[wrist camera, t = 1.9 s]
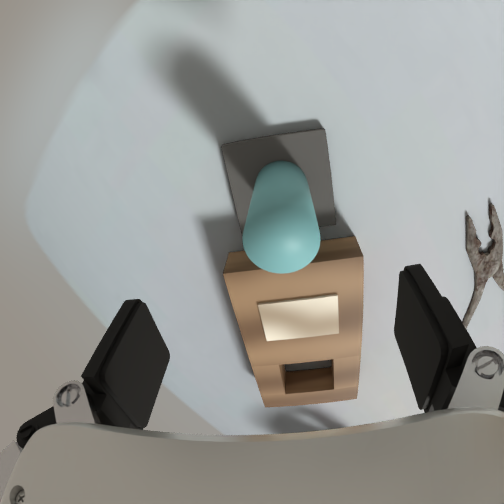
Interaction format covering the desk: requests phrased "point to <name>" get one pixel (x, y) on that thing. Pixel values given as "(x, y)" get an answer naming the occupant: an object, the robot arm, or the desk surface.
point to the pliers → (484, 259)
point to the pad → (282, 149)
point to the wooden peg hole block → (302, 323)
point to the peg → (281, 220)
